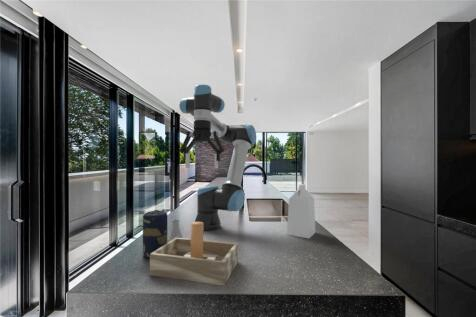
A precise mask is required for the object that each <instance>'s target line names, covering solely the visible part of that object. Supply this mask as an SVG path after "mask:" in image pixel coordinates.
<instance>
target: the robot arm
mask: <svg viewBox="0 0 476 317" xmlns="http://www.w3.org/2000/svg"><path fill="white" fill-rule="evenodd" d="M225 105H226V104H225V101H224V100H223V98H221V97H220V96H218V95H215V94H213V93H212V87H211V86H210V85H208V84H197V85H195V86H194V91H193V97H185V98H182V99H181V100H180V101H179V110H180V111H181V113H182V114H187V115H188V114H190V115H191V116H192V117H193V131H189V130H188V131H187V132H186V136H185V139H184V141H183V143H182V144H181V147H180V149H179V152H181V153H183V161H185V169H186V168H187V169H190V168H191V167H190V164H191V163H190V162H191V161H190V159H191V154H190V153H189V152H190V151H191V150H192V149H193V147H194V146H195V145H196V144H197V143H198V142H207V143H208V144H209V145H210V146H211V148H212V150H214V151H215V153H214V165H213V166H214V170H215V169H216V170H217V169H219V162H220V161H221V154H222V153H225V149H224V147H223V145H222V142H224V143H226V144H229V145H231V144H232V145H233V151H232V154H231V159H230V163H229V168H228V172H227V176H226V179H225V182H224V183H222V185H221V188H220V187H219V186H218V185H207V186H206V185H205V186H201V187H199V188H198V189H197V195H196V196H197V202H196V203H197V207H196V208H197V214H196V216H195V219H194V222H203V223H204V224H203V231H213V230H214V231H215V230H218V229H220V228H221V227H222V222H221V219H220V216H219V211H227V212H238V211H240V210H241V209H242V208H243V206H244V204H245V191H244V190H243V187H242V181H243V175H244V171H245V167H246V166H245V165H246V161H247V156H248V152H249V150H250V149H252V145H254V144H256V143H257V132H256V128H255V127H254V125H253V124H247V123H246V124H236V125H235V124H234V125H233V124H231V125H229V124H226V123H224V122H221V120H219V119H218V118H217V117H216V116H215V115H213V113H217V114H218V113H219V114H220V113H222V111H223V110H224V109H225ZM212 112H213V113H212ZM211 136H212V137H213V138H214V141H215V143H216V144H215V143H214V142H213V139H211ZM192 137H193V138H192ZM191 139H192V140H191ZM190 140H191V141H190Z"/></svg>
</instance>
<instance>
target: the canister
mask: <svg viewBox="0 0 476 317" xmlns="http://www.w3.org/2000/svg"><path fill="white" fill-rule="evenodd" d="M167 239H168V212H166V211H163V210H159V209H155V210H151V211H147V212H144V214H143V215H142V255H143V256H144V257H146V258H150V254H151V253H152V252H154V251H155V250H157V249H159V248H160V247H162V246H163V245H165V244H166V243H168V242H167Z"/></svg>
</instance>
